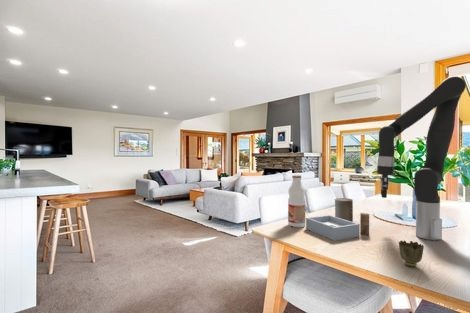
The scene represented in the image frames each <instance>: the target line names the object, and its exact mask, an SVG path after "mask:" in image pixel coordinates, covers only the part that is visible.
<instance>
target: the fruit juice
mask: <svg viewBox="0 0 470 313" xmlns="http://www.w3.org/2000/svg"><path fill="white" fill-rule="evenodd" d="M291 177H292V183H291V186H289V188H288V196H289V197H288V199H287V200H288V201H287V205H288V206H287V208H288V209H287V210H288V211H287V224H288V226H289V225H290V226H289V227H291V226H293V227H292V228H305V227H306V198H305V195H306V189H305V187H304V186H303V185H302V184H303V183H302V175H298V174H296V175H292V176H291Z"/></svg>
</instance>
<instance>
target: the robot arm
mask: <svg viewBox="0 0 470 313" xmlns="http://www.w3.org/2000/svg"><path fill="white" fill-rule="evenodd" d="M466 85H467V84H466V81H465V79H463V78H461V77H460V76H450V77H447V78H445V79H444V80H443V81H441V83H440V84H439V85H438V86H437V87H436V88H435V89H433V90H432V92H431V93H429V94H428V95H427V96H426V97H424V98H423V99H422V100H421V101H419V102H418V103H416V104H415V105H413V106H412V107H410V108H409V109H407V110H406V111H404V112H403V113H402V114H400V115H399V116H398V117H397V118H395V120H394V121H393V122H392V123H390V124H389V125H386V126H383V127H381V128H380V129H379V132H378V144H379V145H378V155H377V156H378V158H377V164H376V166H377V167H376V173H377V175H381V177H380V179H379V182H380V183H379V184H380V195H381V198H383V199H386V198H387V196H388V190H389V185H390V178H389V176H393V175H394V173H395V172H394V171H395V152H396V150H395V146H394V145H395V138H397V137H398V136H399V135H401V134H402V133H403V132H404V131H405V130H407V129H408V128H410V127H411V126H414V124H416V123H417V122H419V121H420V120H421V119H423V118H424V117H425V116H426V115H427V114H429V113H430V112H431V111H432V110H434V109H435V111H434V113H433V116H432V119H431V121H430V124H429V126H428V130H427V134H426V142H425V147H426V149H425V150H426V158H425V162H424V165H423V167H422V168H421V169H418V170H417V171H416V172H415V174H414V180H413V181H414V182H413V183H414V184H413V186H414V188H413V189H414V196H415V236H416V237H417V238H420V239H424V240H430V241H433V242H434V241H440V240H442V239H443V219H442V218H441V197H440V195H439V190H438V188H439V186H438V185H440V184H441V183H442V180H443V174H444V168H445V161H446V157H447V154H448V152H449V148H450V145H451V141H452V137H453V134H454V129H455V123H456V122H455V121H456V111H457V107H458V104H459V101H460V98H461V96H462V95H463V93H464V91H465V89H466V87H467V86H466Z"/></svg>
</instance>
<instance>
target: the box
mask: <svg viewBox="0 0 470 313" xmlns="http://www.w3.org/2000/svg"><path fill="white" fill-rule="evenodd" d="M307 229H308V230H307ZM305 230H307V231H309V230H310V231H309V232H312V233H314V234H316V233H317V234H316V235H320V236H321V235H322V236H321V237H324V238H326V237H327V238H326V239H329V240H331V241H334V242H336V241H337V242H338V241H342V240H346V239H353V238H358V237H360V235H361V234H360V223H356V222H354V221H353V222H351V221H347V220H344V219H340V218H337V217H335V215H334V216H333V215H330V214H327V215H320V216H312V217H305Z"/></svg>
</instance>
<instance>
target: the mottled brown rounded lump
mask: <svg viewBox="0 0 470 313" xmlns="http://www.w3.org/2000/svg"><path fill="white" fill-rule="evenodd" d="M398 247H399V254H400V258H402V260H403V261H404V265H405V266H407V267H409V268H417V267H418V264H419V263H420V262H421V261H422V259H423V255H424V247H425V246H424V244H422V243H418V241H414V242H413V241H412V240H410V241H409V242H407V241H406V240H405V239H404V240H400V241H398Z"/></svg>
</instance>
